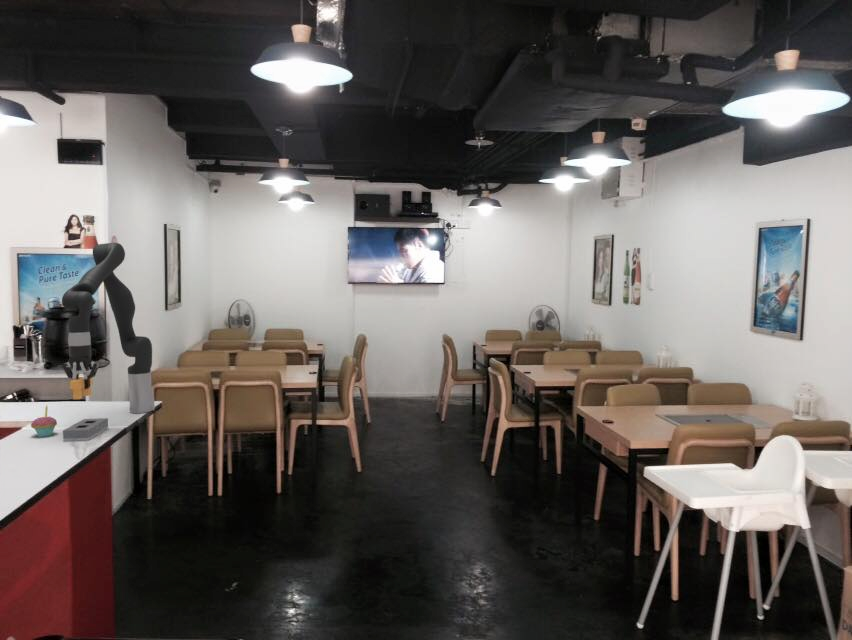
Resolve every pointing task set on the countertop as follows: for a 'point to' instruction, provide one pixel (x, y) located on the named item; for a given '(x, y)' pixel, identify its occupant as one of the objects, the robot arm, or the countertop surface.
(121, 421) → the countertop surface
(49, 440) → the countertop surface
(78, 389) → the orange arch block
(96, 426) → the metal panel
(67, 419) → the countertop surface
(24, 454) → the countertop surface
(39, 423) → the cupcake
